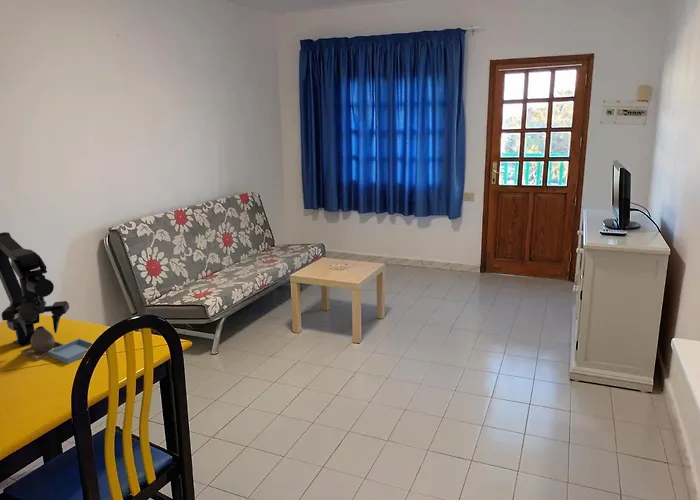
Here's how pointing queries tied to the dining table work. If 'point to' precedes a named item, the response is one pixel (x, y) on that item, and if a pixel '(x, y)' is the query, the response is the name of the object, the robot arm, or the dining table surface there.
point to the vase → (42, 340)
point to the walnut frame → (25, 352)
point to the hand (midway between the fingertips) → (40, 334)
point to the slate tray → (70, 351)
